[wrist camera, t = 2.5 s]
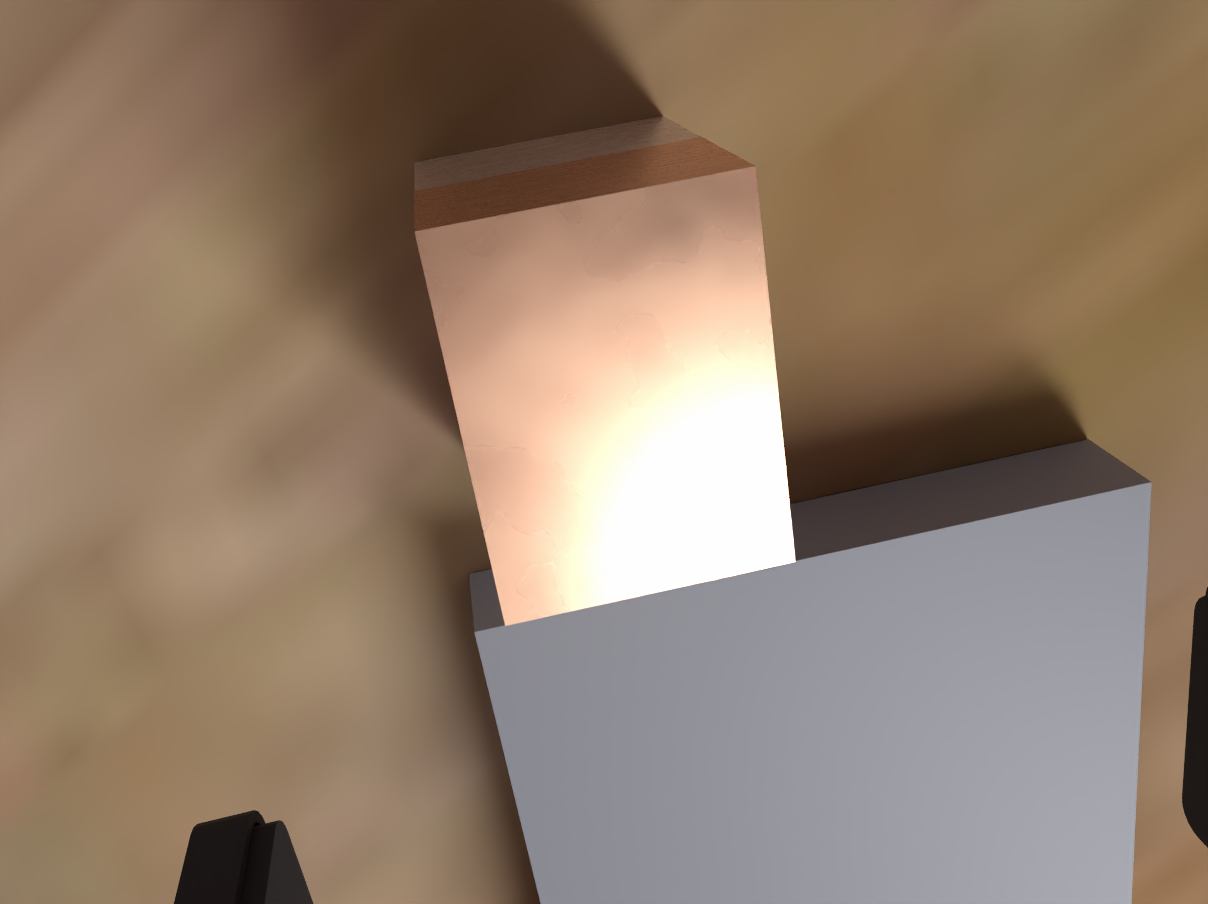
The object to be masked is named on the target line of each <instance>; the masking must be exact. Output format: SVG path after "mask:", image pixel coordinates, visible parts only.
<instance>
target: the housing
mask: <svg viewBox="0 0 1208 904" xmlns="http://www.w3.org/2000/svg"><path fill="white" fill-rule="evenodd" d="M414 232H415V236H416V241H417V245H418V249H419V254H420V258H421V262H422V267H423V271H424V275H425V280H426V284H427V288H428V293H429V297H430V301H431V306H432V310H433V314H434V319H435V323H436V328H437V332H438V336H439V341H440V345H441V349H442V354H443V358H444V362H445V367H446V371H447V375H448V380H449V384H450V388H451V393H452V397H453V401H454V406H455V410H456V414H457V419H458V423H459V427H460V432H461V436H462V441H463V445H464V449H465V454H466V458H467V462H468V467H469V471H470V475H471V480H472V484H473V488H474V493H475V497H476V501H477V506H478V510H479V514H480V519H481V523H482V527H483V532H484V536H485V541H486V545H487V549H488V554H489V558H490V562H491V567H492V571H493V575H494V580H495V584H496V588H497V593H498V597H499V601H500V606H501V610H502V614H503V619H504V623H505V626H508V625H512V624H517V623H521V622H526V621H530V620H535V619H539V618H544V617H548V616H553V615H557V614H562V613H566V612H571V611H575V610H580V609H584V608H589V607H593V606H598V605H602V604H607V603H611V602H616V601H620V600H625V599H629V598H634V597H638V596H643V595H647V594H652V593H656V592H661V591H665V590H670V589H674V588H679V587H683V586H688V585H692V584H697V583H702V582H706V581H711V580H715V579H720V578H724V577H729V576H733V575H738V574H742V573H747V572H751V571H756V570H760V569H765V568H769V567H774V566H778V565H783V564H787V563H792V562H795V553H794V543H793V533H792V523H791V513H790V503H789V493H788V484H787V474H786V464H785V454H784V444H783V434H782V424H781V414H780V404H779V394H778V385H777V375H776V365H775V355H774V345H773V335H772V325H771V315H770V305H769V295H768V285H767V276H766V266H765V256H764V246H763V236H762V226H761V216H760V206H759V196H758V186H757V177H756V167H755V166H754V165H752V164H751V163H749V162H747V161H745V160H743V159H741V158H739V157H738V156H736V155H734V154H732V153H730V152H728V151H727V150H725V149H723V148H721V147H719V146H717V145H715V144H714V143H712V142H710V141H708V140H706V139H704V138H703V137H701V136H699V135H697V134H695V133H693V132H692V131H690V130H688V129H686V128H684V127H682V126H680V125H679V124H677V123H675V122H673V121H671V120H669V119H668V118H666V117H664V116H660V117H655V118H649V119H644V120H638V121H633V122H628V123H622V124H617V125H612V126H606V127H601V128H596V129H590V130H585V131H580V132H574V133H569V134H564V135H558V136H553V137H547V138H542V139H537V140H531V141H526V142H521V143H515V144H510V145H505V146H499V147H494V148H489V149H483V150H478V151H473V152H467V153H462V154H457V155H451V156H446V157H440V158H435V159H430V160H424V161H419V162H414Z"/></svg>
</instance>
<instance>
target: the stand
mask: <svg viewBox="0 0 1208 904" xmlns="http://www.w3.org/2000/svg"><path fill="white" fill-rule="evenodd" d="M1150 503H1151V481H1149V480H1148V479H1146V478H1145V477H1143V476H1142V475H1140V474H1139V473H1137V472H1136V471H1134V470H1133V469H1131V468H1130V467H1128V466H1127V465H1126V464H1124V463H1123V462H1121V461H1120V460H1118V459H1117V458H1115V457H1114V456H1112V455H1111V454H1109V453H1108V452H1106V451H1105V450H1103V449H1102V448H1100V447H1099V446H1098V445H1096V444H1095V443H1093V442H1092V441H1090V440H1089V439H1088V440H1083V441H1079V442H1074V443H1069V444H1065V445H1060V446H1056V447H1051V448H1046V449H1042V450H1037V451H1033V452H1028V453H1023V454H1019V455H1014V456H1009V457H1005V458H1000V459H996V460H991V461H986V462H982V463H977V464H973V465H968V466H963V467H959V468H954V469H950V470H945V471H940V472H936V473H931V474H927V475H922V476H917V477H913V478H908V479H904V480H899V481H894V482H890V483H885V484H881V485H876V486H871V487H867V488H862V489H858V490H853V491H848V492H844V493H839V494H835V495H830V496H825V497H821V498H816V499H812V500H807V501H802V502H798V503H793V504H790V513H791V523H792V533H793V543H794V553H795V562H792V563H787V564H783V565H778V566H774V567H769V568H765V569H760V570H756V571H751V572H747V573H742V574H738V575H733V576H729V577H724V578H720V579H715V580H711V581H706V582H702V583H697V584H692V585H688V586H683V587H679V588H674V589H670V590H665V591H661V592H656V593H652V594H647V595H643V596H638V597H634V598H629V599H625V600H620V601H616V602H611V603H607V604H602V605H598V606H593V607H589V608H584V609H580V610H575V611H571V612H566V613H562V614H557V615H553V616H548V617H544V618H539V619H535V620H530V621H526V622H521V623H517V624H512V625H508V626H505V623H504V619H503V614H502V610H501V606H500V601H499V597H498V593H497V588H496V584H495V580H494V575H493V571H492V569H489V570H485V571H480V572H476V573H471V574H469V580H470V591H471V602H472V613H473V623H474V633H475V637H476V641H477V645H478V649H479V653H480V658H481V662H482V666H483V670H484V674H485V678H486V682H487V686H488V690H489V694H490V698H491V703H492V707H493V711H494V715H495V719H496V723H497V727H498V731H499V735H500V739H501V744H502V748H503V752H504V756H505V760H506V764H507V768H508V772H509V776H510V780H511V784H512V789H513V793H514V797H515V801H516V805H517V809H518V813H519V817H520V821H521V825H522V829H523V834H524V838H525V842H526V846H527V850H528V854H529V858H530V862H531V866H532V870H533V875H534V879H535V883H536V887H537V891H538V895H539V899H540V903H541V904H1131V900H1132V879H1133V858H1134V837H1135V816H1136V795H1137V774H1138V754H1139V733H1140V712H1141V691H1142V670H1143V649H1144V628H1145V607H1146V586H1147V565H1148V545H1149V524H1150Z"/></svg>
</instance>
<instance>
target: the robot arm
mask: <svg viewBox="0 0 1208 904" xmlns="http://www.w3.org/2000/svg"><path fill="white" fill-rule="evenodd" d="M1182 803H1183V809H1184V813H1185V816H1186V818H1187V820H1188V823H1189V825H1190V826H1191V828H1192V830H1193V831H1194V833H1195V834H1196V835H1197V836H1198V838H1199V839H1200V840H1201V841H1202V842H1203V843H1204V844H1205V845H1206V846H1207V847H1208V587H1207V590H1206V595H1205V596H1203V597H1201V598H1199V600H1198V601H1197V603H1196V605H1195V610H1194V623H1193V639H1192V654H1191V669H1190V685H1189V700H1188V715H1187V731H1186V746H1185V761H1184V777H1183V792H1182ZM174 904H313V901H312V899H311V896H310V893H309V890H308V887H307V885H306V882H305V879H304V876H303V873H302V870H301V868H300V865H299V862H298V859H297V856H296V854H295V851H294V848H293V845H292V842H291V839H290V837H289V834H288V831H287V829H286V826H285V825H284V823H283V822H282V821H275V822H271V823H266V824H265V821H264V819H263V817H262V816H261V814H260V813H259V812H258V811H255V810H254V811H249V812H245V813H241V814H237V815H233V816H229V817H224V818H220V819H216V820H212V821H208V822H204V823H200V824H197V825H196V826H195V827H194V828H193V830H192V833H191V836H190V840H189V844H188V848H187V852H186V856H185V860H184V864H183V868H182V872H181V877H180V881H179V885H178V889H177V893H176V897H175V901H174Z"/></svg>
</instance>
